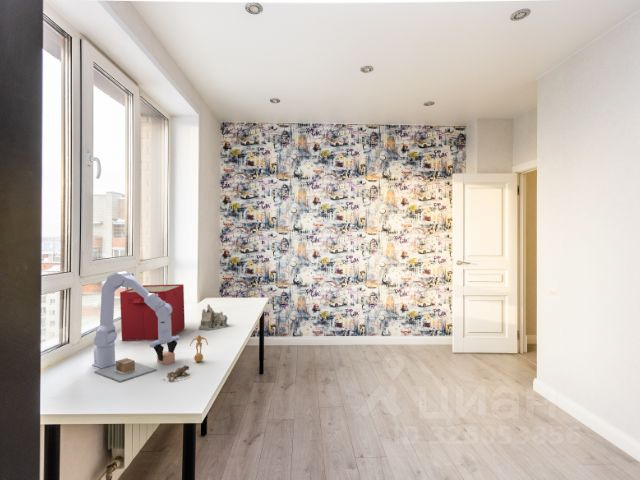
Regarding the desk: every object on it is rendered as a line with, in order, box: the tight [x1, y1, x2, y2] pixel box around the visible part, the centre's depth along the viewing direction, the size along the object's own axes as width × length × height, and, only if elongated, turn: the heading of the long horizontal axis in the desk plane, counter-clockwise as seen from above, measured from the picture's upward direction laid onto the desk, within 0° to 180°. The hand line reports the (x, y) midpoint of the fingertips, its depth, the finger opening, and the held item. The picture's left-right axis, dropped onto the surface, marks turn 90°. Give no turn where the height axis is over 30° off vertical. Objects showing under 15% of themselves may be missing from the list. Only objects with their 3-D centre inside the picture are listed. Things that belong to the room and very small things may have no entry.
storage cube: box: [119, 283, 186, 342], centre depth 230 cm, size 32×28×29 cm
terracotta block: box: [156, 350, 176, 365], centre depth 177 cm, size 7×5×4 cm, turn 55°
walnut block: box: [115, 357, 135, 373], centre depth 166 cm, size 7×5×4 cm, turn 55°
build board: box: [94, 362, 157, 383], centre depth 166 cm, size 22×16×1 cm
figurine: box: [189, 335, 209, 363], centre depth 177 cm, size 8×6×12 cm
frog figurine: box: [162, 364, 190, 383], centre depth 158 cm, size 12×12×4 cm
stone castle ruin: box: [198, 303, 229, 332], centre depth 244 cm, size 16×16×15 cm
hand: (165, 358), depth 177 cm, fingers closed on terracotta block, 5 cm apart
